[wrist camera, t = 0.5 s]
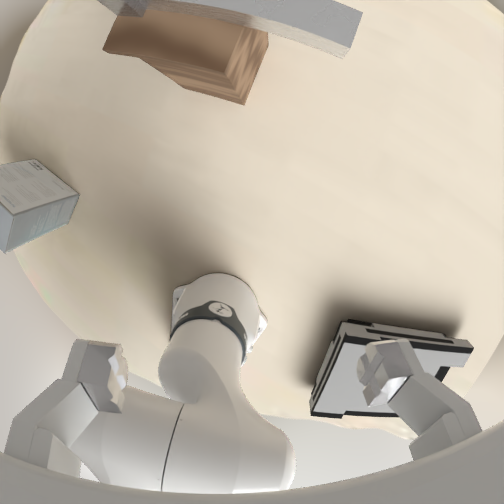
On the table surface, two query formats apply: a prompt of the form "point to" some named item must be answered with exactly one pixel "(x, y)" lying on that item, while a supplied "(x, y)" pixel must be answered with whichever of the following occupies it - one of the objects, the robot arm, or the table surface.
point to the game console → (353, 347)
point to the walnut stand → (193, 50)
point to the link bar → (266, 17)
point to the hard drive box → (31, 203)
